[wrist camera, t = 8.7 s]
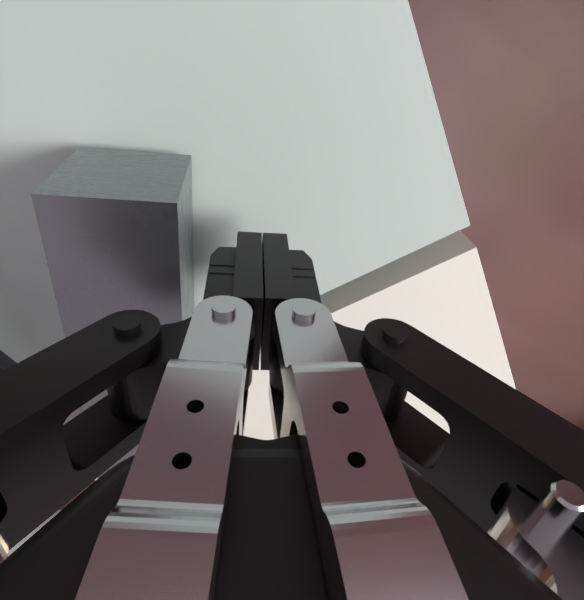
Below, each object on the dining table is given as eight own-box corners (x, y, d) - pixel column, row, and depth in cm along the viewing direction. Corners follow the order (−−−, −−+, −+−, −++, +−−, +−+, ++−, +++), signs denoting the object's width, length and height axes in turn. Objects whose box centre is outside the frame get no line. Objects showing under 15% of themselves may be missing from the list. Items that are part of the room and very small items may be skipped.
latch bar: (208, 463, 21) (202, 546, 18) (120, 465, 20) (98, 551, 17) (209, 156, 13) (199, 210, 9) (60, 144, 12) (-2, 197, 9)
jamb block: (435, 203, 19) (476, 247, 16) (486, 362, 25) (523, 417, 22) (71, 379, 23) (43, 444, 20) (192, 480, 29) (186, 542, 26)
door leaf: (292, -242, 11) (314, -336, 8) (429, 184, 18) (470, 225, 15) (-203, 120, 15) (-326, 155, 12) (72, 360, 22) (43, 423, 19)
